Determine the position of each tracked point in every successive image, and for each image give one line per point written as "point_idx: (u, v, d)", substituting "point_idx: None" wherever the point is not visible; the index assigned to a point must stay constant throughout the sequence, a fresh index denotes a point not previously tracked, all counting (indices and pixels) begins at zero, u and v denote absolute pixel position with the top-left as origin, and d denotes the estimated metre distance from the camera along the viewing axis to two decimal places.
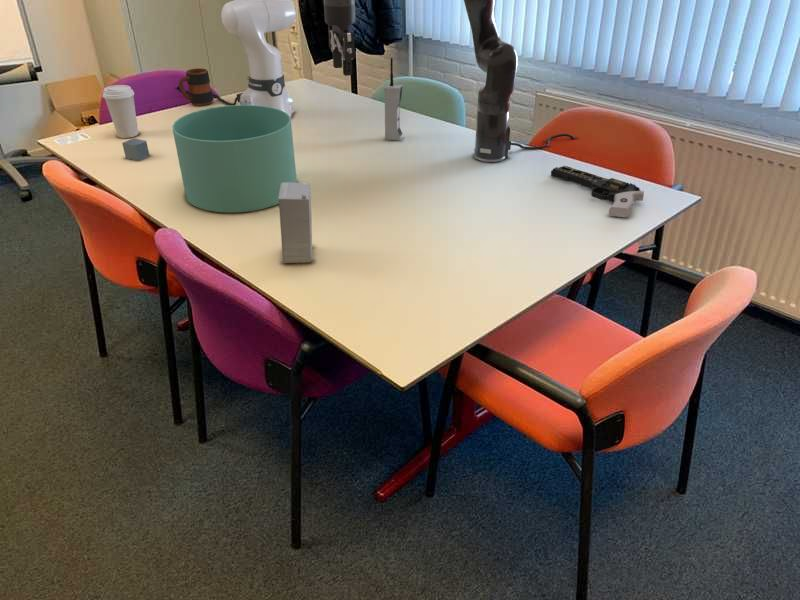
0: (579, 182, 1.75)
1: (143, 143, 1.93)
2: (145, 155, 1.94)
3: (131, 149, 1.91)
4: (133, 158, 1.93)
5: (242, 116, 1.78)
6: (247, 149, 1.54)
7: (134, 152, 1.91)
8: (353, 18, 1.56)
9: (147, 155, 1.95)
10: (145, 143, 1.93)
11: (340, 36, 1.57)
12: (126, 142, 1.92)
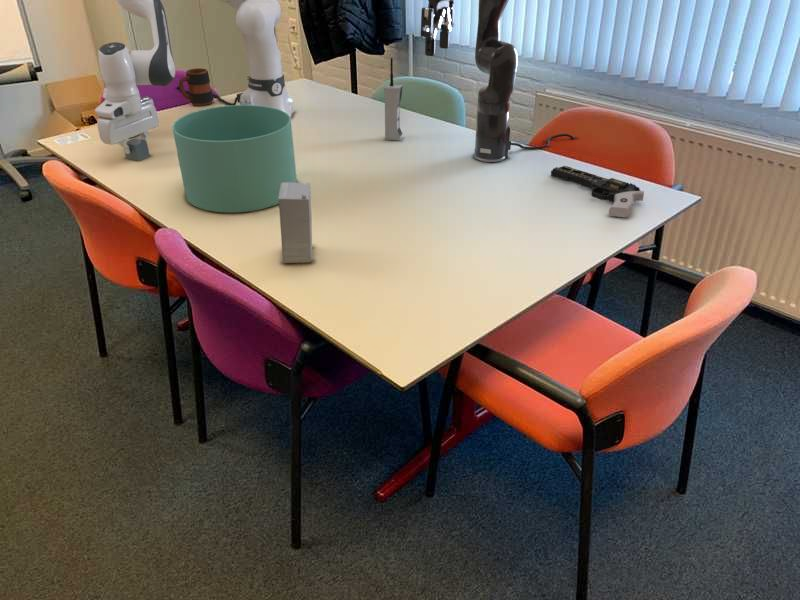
0: (579, 182, 1.75)
1: (143, 143, 1.93)
2: (145, 155, 1.94)
3: None
4: (133, 158, 1.93)
5: (242, 116, 1.78)
6: (247, 149, 1.54)
7: (134, 152, 1.91)
8: None
9: (147, 155, 1.95)
10: (145, 143, 1.93)
11: None
12: None
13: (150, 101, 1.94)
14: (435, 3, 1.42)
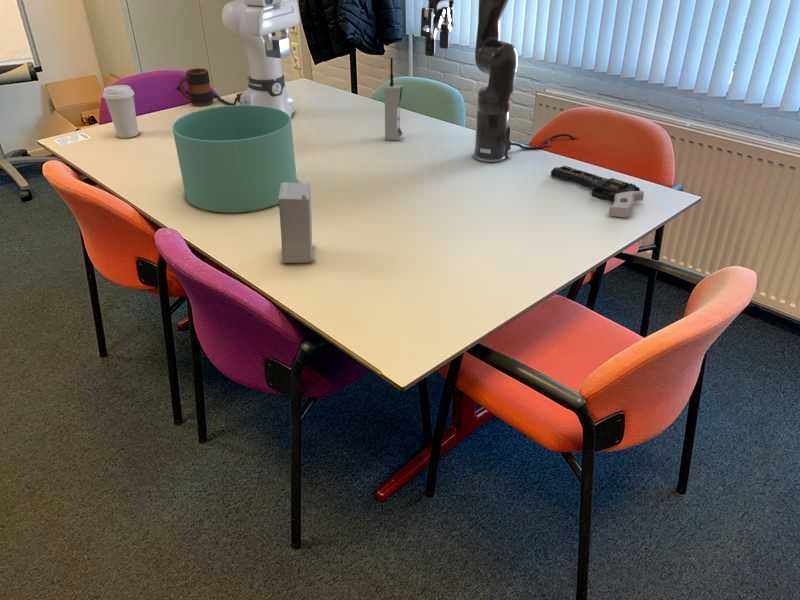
0: (579, 182, 1.75)
1: (286, 40, 1.82)
2: (286, 53, 1.83)
3: None
4: (275, 56, 1.82)
5: (242, 116, 1.78)
6: (247, 149, 1.54)
7: (277, 48, 1.81)
8: None
9: (288, 54, 1.84)
10: (287, 40, 1.82)
11: None
12: None
13: None
14: (435, 3, 1.42)
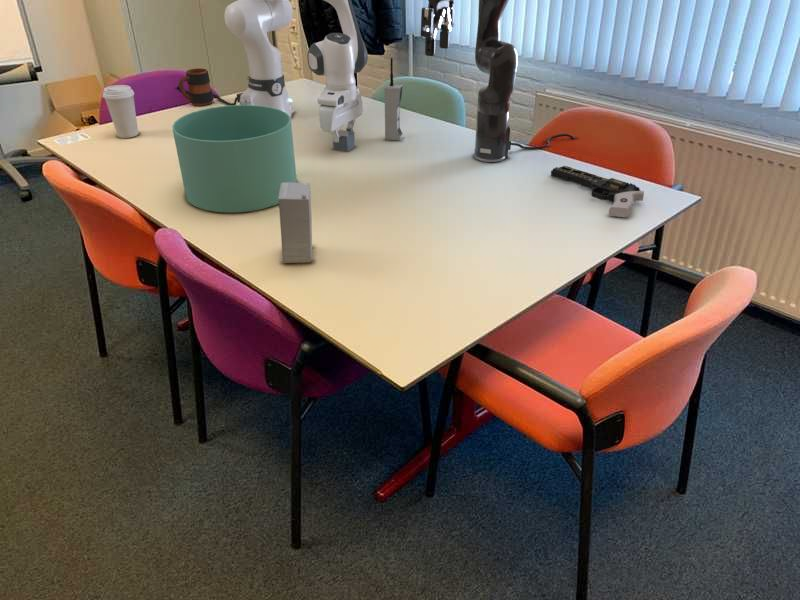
0: (579, 182, 1.75)
1: (352, 134, 1.99)
2: (352, 146, 2.01)
3: (341, 140, 1.98)
4: (342, 149, 1.99)
5: (242, 116, 1.78)
6: (247, 149, 1.54)
7: (344, 143, 1.98)
8: None
9: (353, 146, 2.01)
10: (353, 134, 2.00)
11: None
12: None
13: (357, 90, 2.00)
14: (435, 3, 1.42)
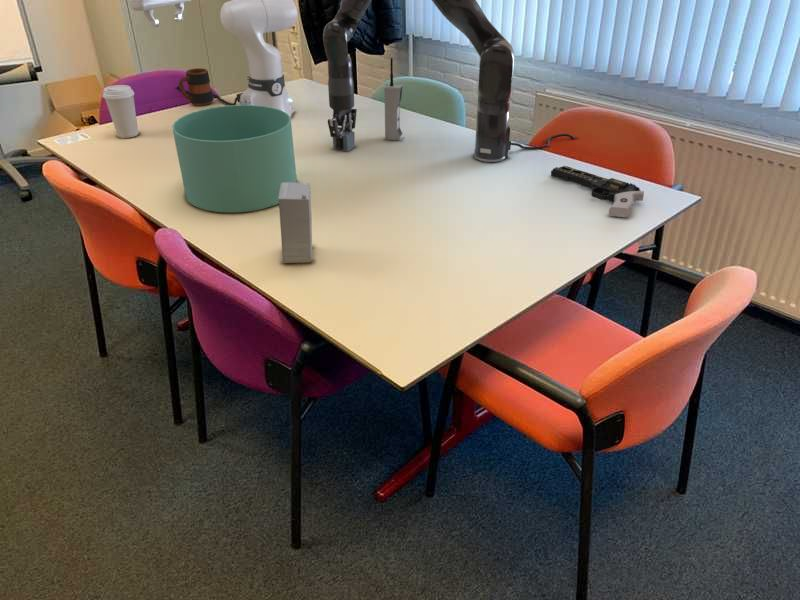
0: (579, 182, 1.75)
1: (352, 134, 1.99)
2: (352, 146, 2.01)
3: None
4: (342, 149, 1.99)
5: (242, 116, 1.78)
6: (247, 149, 1.54)
7: (344, 143, 1.98)
8: None
9: (353, 146, 2.01)
10: (353, 134, 2.00)
11: (350, 112, 1.98)
12: None
13: None
14: (338, 112, 1.92)
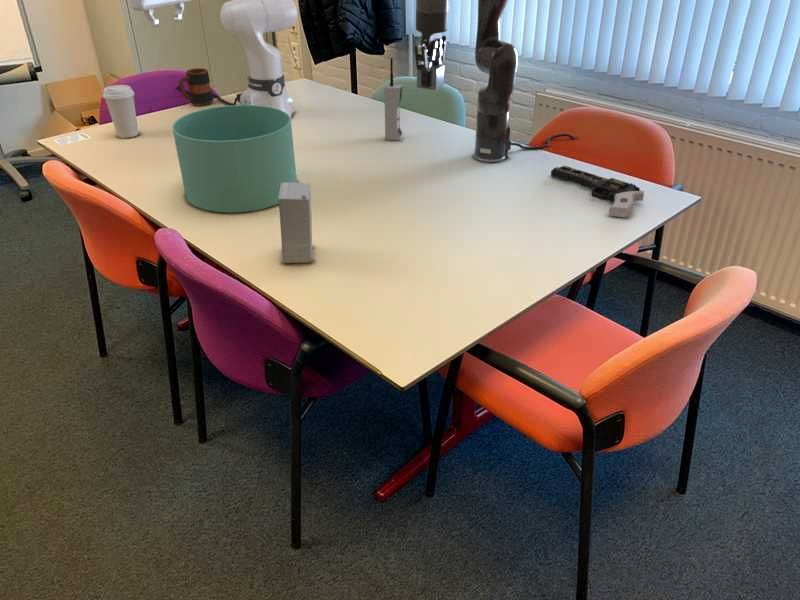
0: (579, 182, 1.75)
1: (442, 68, 1.55)
2: (441, 84, 1.56)
3: None
4: None
5: (242, 116, 1.78)
6: (247, 149, 1.54)
7: (432, 79, 1.53)
8: None
9: (442, 84, 1.57)
10: (443, 68, 1.55)
11: None
12: None
13: None
14: (428, 36, 1.47)
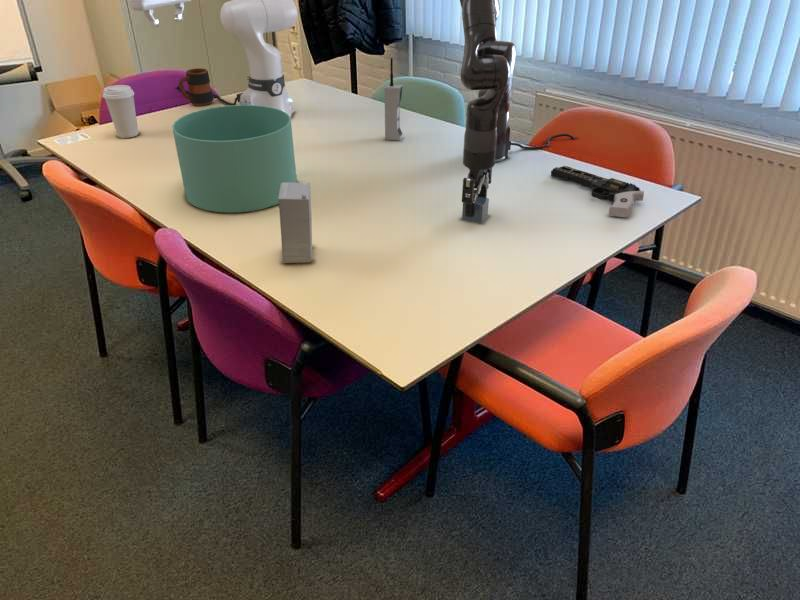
0: (579, 182, 1.75)
1: (487, 202, 1.57)
2: (485, 216, 1.59)
3: None
4: (474, 220, 1.57)
5: (242, 116, 1.78)
6: (247, 149, 1.54)
7: (478, 213, 1.56)
8: None
9: (486, 215, 1.60)
10: (488, 201, 1.58)
11: (486, 170, 1.55)
12: None
13: None
14: (476, 172, 1.49)
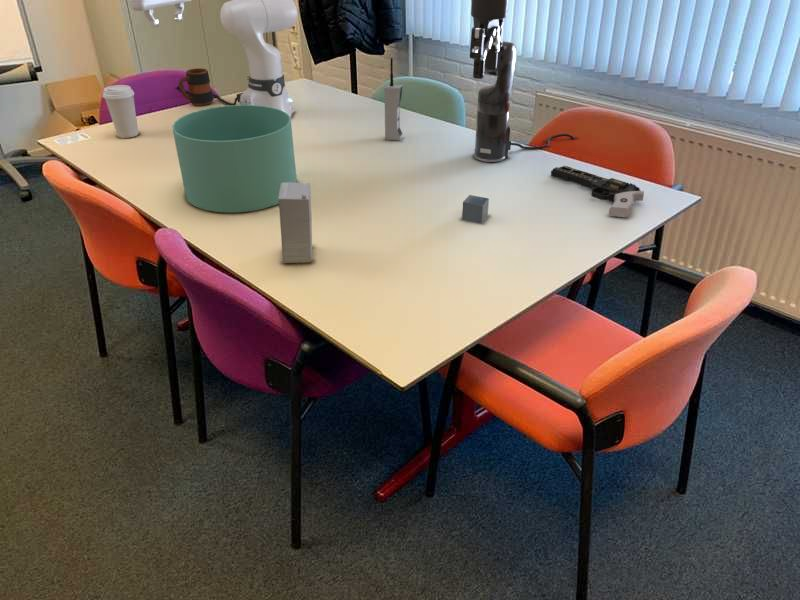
0: (579, 182, 1.75)
1: (487, 202, 1.57)
2: (485, 216, 1.59)
3: (474, 210, 1.56)
4: (474, 220, 1.57)
5: (242, 116, 1.78)
6: (247, 149, 1.54)
7: (478, 213, 1.56)
8: None
9: (486, 215, 1.60)
10: (488, 201, 1.58)
11: None
12: (468, 201, 1.56)
13: None
14: (486, 22, 1.32)
